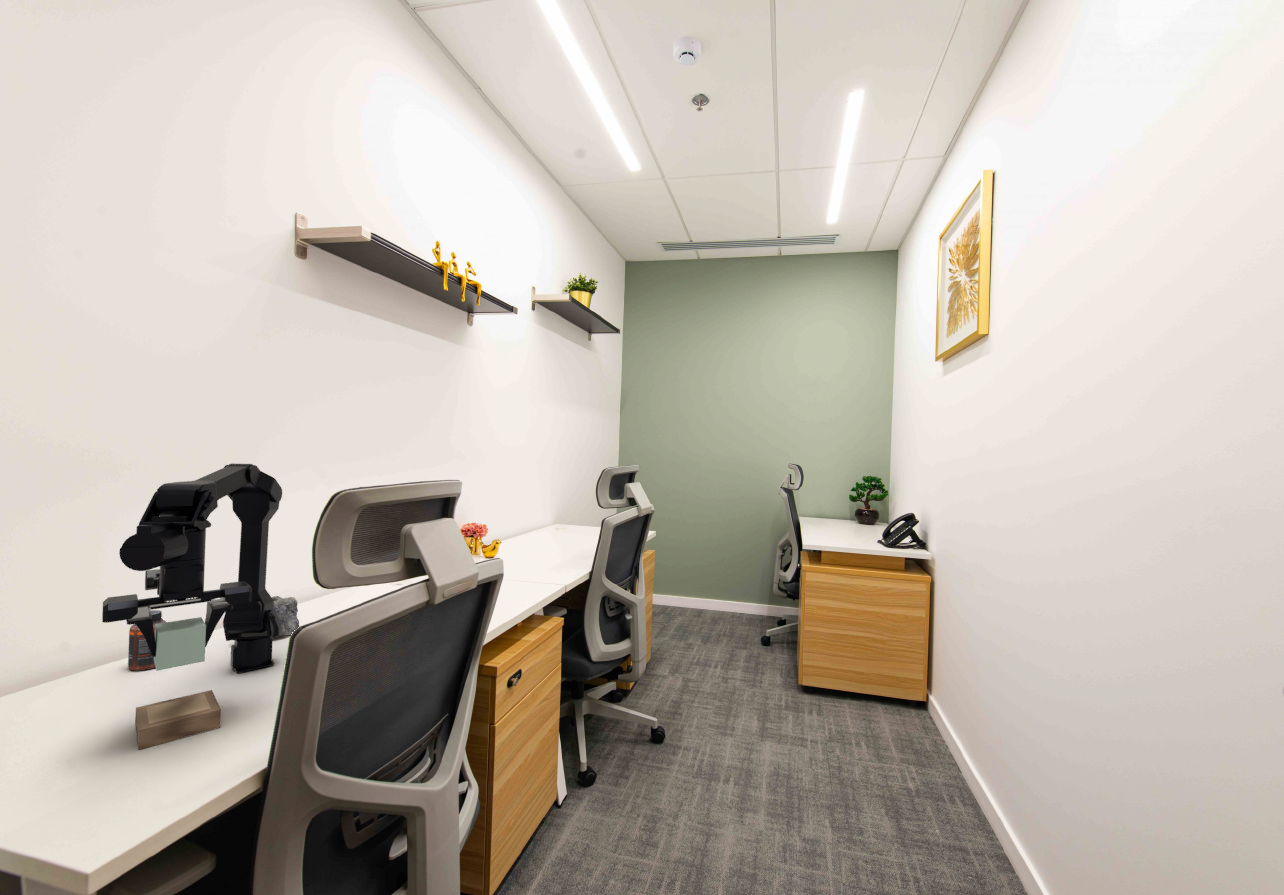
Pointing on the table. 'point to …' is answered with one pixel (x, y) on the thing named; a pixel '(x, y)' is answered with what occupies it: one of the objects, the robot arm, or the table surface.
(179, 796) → the table surface
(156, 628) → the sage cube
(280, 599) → the mineral rock
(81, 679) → the table surface
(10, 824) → the table surface
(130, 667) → the supplement bottle
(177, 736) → the walnut base
